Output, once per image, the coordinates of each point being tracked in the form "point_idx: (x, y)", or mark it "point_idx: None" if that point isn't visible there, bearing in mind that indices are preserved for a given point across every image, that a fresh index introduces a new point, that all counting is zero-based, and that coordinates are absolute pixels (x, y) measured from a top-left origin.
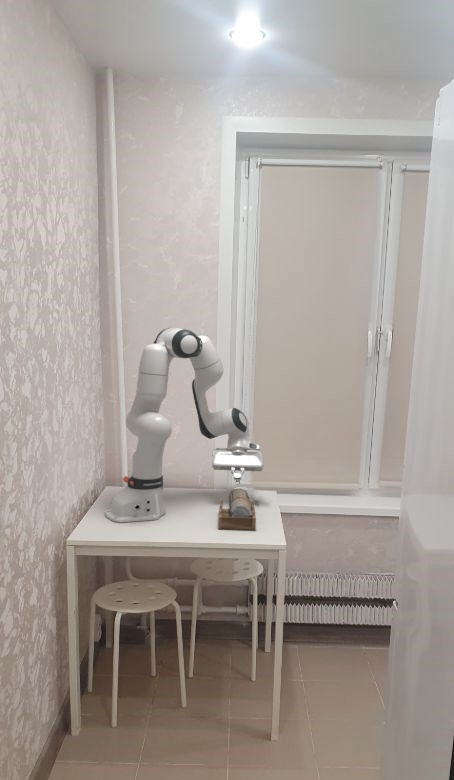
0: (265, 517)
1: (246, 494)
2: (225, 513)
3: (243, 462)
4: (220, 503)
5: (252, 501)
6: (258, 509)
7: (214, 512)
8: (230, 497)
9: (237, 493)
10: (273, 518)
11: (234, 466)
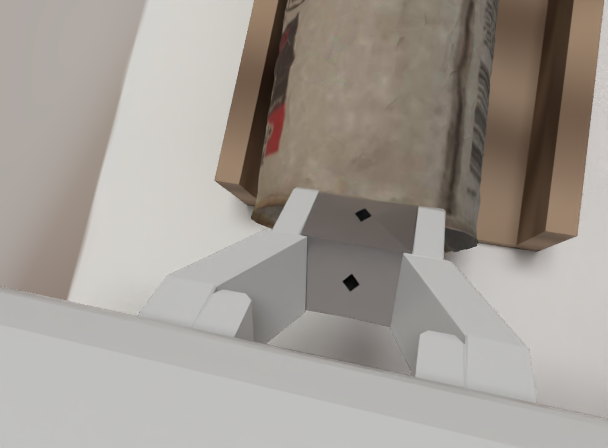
0: (192, 62)
1: (288, 83)
2: (502, 110)
3: (30, 439)
4: (588, 69)
5: (238, 131)
6: (193, 250)
7: (595, 188)
8: (483, 73)
9: (410, 4)
10: (144, 42)
11: (433, 386)
